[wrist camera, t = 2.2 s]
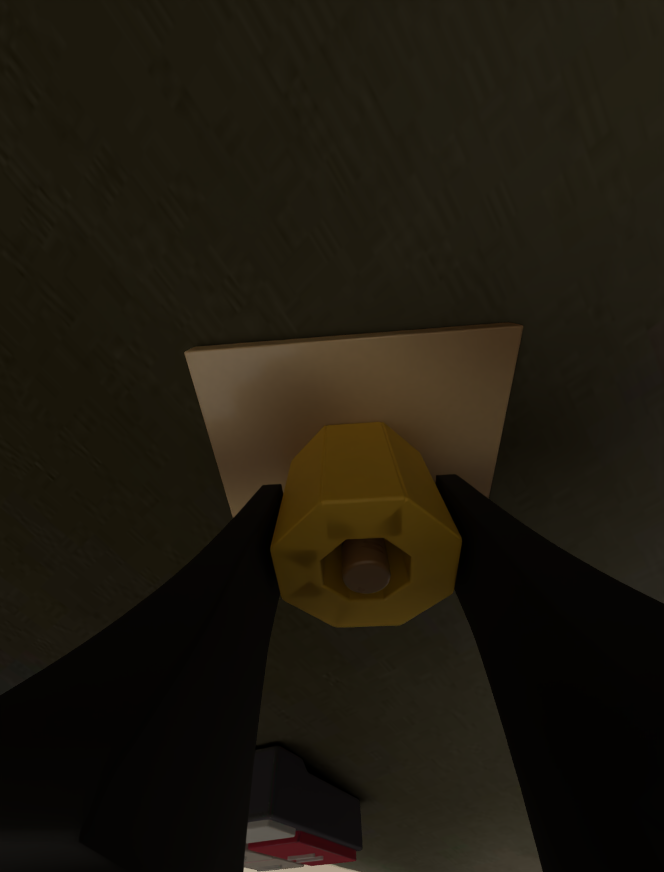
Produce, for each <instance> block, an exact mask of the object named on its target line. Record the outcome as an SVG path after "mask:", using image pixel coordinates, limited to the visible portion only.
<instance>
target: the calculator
mask: <svg viewBox="0 0 664 872" xmlns="http://www.w3.org/2000/svg"><path fill="white" fill-rule="evenodd" d="M361 850H362V830H361V813H360V801H359V799H357V798H355V797H353V796H351V795H349V794H348V793H346V792H344V791H342V790H340V789H338V788H336V787H334V786H332V785H331V784H329V783H327V782H325V781H323V780H321V779H319V778H317V777H316V776H314V775H312V774H310V773H308V772H307V770H306V767H305V764H304V762H303V759H302V758H300V757H299V756H297V755H295V754H293V753H291V752H290V751H288V750H286V749H284V748H283V747H281V746H271V747H266V748H261V749H257V750H255V757H254V766H253V775H252V784H251V794H250V805H249V815H248V826H247V836H246V847H245V858H244V867H246V868H250V869H255V870H257V871H269V870H279V869H288V868H296V867H303V866H304V864H306V865H310V866H315V865H324V864H334V863H343V862H352V861H356V851H361Z"/></svg>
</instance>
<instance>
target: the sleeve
mask: <svg viewBox="0 0 664 872" xmlns="http://www.w3.org/2000/svg"><path fill="white" fill-rule="evenodd" d="M368 538H384V541H385V546H386V551H387V557H388V562H389V567H390V573H391V577H390V581H389V583H388V585H387V586H386V587H385V588H383V589H382V590H380V591H378V592H375V593H369V594H362V593H357V592H354V591H352V590H350V589H349V588H348V587H347V586H346V585H345V584H344V582H343V579H342V549H341V543H342V542H344V541H345V540H347V539H368ZM461 546H462V538H461V536H460V534H459V532H458V530H457V527H456V525H455V523H454V521H453V519H452V517H451V515H450V513H449V511H448V509H447V507H446V505H445V503H444V501H443V499H442V497H441V495H440V493H439V491H438V489H437V487H436V484H435V482H434V480H433V478H432V476H431V474H430V472H429V470H428V468H427V466H426V464H425V462H424V460H423V458H422V456H421V454H420V452H418V451H417V450H416V449H415V448H414V447H412V446H411V445H410V444H409V443H408V442H407V441H405V440H404V439H403V438H402V437H401V436H399V435H398V434H397V433H396V432H395V431H393V430H392V429H391V428H390V427H389V426H387V425H386V424H385V423H384V422H370V423H354V424H339V425H327V426H324V427H323V428H322V429H321V430H320V431H319V432H318V433H317V434H316V435H315V436H314V437H313V438H312V439H311V440H310V442H309V443H308V444H307V445H306V446H305V447H304V448H303V449H302V450H301V451H300V452H299V453H298V454H297V455H296V456H295V457H294V459H293V460H292V461H291V465H290V469H289V473H288V477H287V481H286V485H285V489H284V493H283V497H282V501H281V505H280V510H279V514H278V518H277V522H276V526H275V530H274V534H273V538H272V542H271V546H270V552H271V556H272V561H273V565H274V569H275V573H276V577H277V582H278V586H279V590H280V594H281V598H283V600H284V601H286V602H288V603H290V604H292V605H294V606H295V607H297V608H299V609H301V610H303V611H305V612H307V613H309V614H311V615H313V616H314V617H316V618H318V619H320V620H322V621H324V622H326V623H328V624H330V625H331V626H335V627H364V626H393V625H401V624H404V623H405V622H407V621H409V620H410V619H412V618H414V617H415V616H417V615H418V614H420V613H422V612H423V611H425V610H427V609H428V608H430V607H431V606H433V605H435V604H436V603H438V602H440V601H441V600H443V599H444V598H446V597H448V596H449V595H451V594H452V593H453V591H454V588H455V582H456V576H457V570H458V564H459V558H460V552H461Z"/></svg>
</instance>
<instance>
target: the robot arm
mask: <svg viewBox="0 0 664 872" xmlns="http://www.w3.org/2000/svg"><path fill="white" fill-rule="evenodd" d="M435 484H436V487H437V489H438V491H439V493H440V495H441V497H442V499H443V501H444V503H445V505H446V507H447V509H448V511H449V513H450V515H451V517H452V519H453V521H454V523H455V525H456V527H457V530H458V532H459V534H460V536H461V538H462V546H461V552H460V558H459V564H458V570H457V576H456V582H455V588H454V589H455V592H456V594H457V596H458V599H459V601H460V603H461V606H462V608H463V610H464V613H465V615H466V617H467V620H468V622H469V624H470V627H471V630H472V632H473V635H474V638H475V640H476V643H477V646H478V649H479V652H480V655H481V658H482V661H483V664H484V667H485V670H486V674H487V677H488V680H489V683H490V686H491V689H492V693H493V696H494V699H495V702H496V706H497V709H498V712H499V715H500V719H501V722H502V725H503V728H504V732H505V735H506V739H507V742H508V746H509V749H510V753H511V756H512V760H513V763H514V767H515V770H516V774H517V777H518V781H519V784H520V787H521V791H522V795H523V799H524V802H525V806H526V810H527V813H528V817H529V821H530V825H531V828H532V832H533V836H534V839H535V843H536V847H537V851H538V854H539V858H540V862H541V866H542V870H543V872H664V604H663V603H661V602H659V601H657V600H655V599H653V598H651V597H649V596H647V595H645V594H643V593H641V592H639V591H637V590H635V589H633V588H631V587H629V586H627V585H625V584H623V583H622V582H620V581H618V580H616V579H614V578H612V577H610V576H608V575H606V574H605V573H603V572H601V571H599V570H597V569H596V568H594V567H592V566H590V565H589V564H587V563H585V562H583V561H582V560H580V559H578V558H577V557H575V556H573V555H571V554H570V553H568V552H566V551H564V550H563V549H561V548H560V547H558V546H556V545H555V544H553V543H552V542H550V541H548V540H547V539H545V538H544V537H542V536H541V535H539V534H538V533H536V532H535V531H533V530H532V529H530V528H529V527H527V526H526V525H524V524H523V523H521V522H520V521H518V520H517V519H516V518H514V517H513V516H511V515H510V514H509V513H507V512H506V511H504V510H503V509H502V508H500V507H499V506H498V505H496V504H495V503H494V502H492V501H491V500H490V499H488V498H487V497H486V496H484V495H483V494H482V493H480V492H479V491H478V490H476V489H475V488H474V487H473V486H471V485H470V484H469V483H467V482H466V481H465V480H463V479H462V478H461V477H459V476H458V475H456V474H447V475H436V482H435ZM282 497H283V490H282V485H281V484H269V485H262V486H261V487H260V489H259V490H258V491H257V492H256V493H255V494H254V495H253V496H252V497H251V499H250V500H249V501H248V502H247V503H246V504H245V505H244V507H243V508H242V509H241V510H240V511H239V512H238V513H237V514H236V516H235V517H234V518H233V519H232V520H231V521H230V522H229V523H228V524H227V525H226V526H225V528H224V529H223V530H222V531H221V532H220V533H219V534H218V535H217V536H216V537H215V538H214V539H213V540H212V541H211V542H210V543H209V544H208V545H207V546H206V547H205V548H204V549H203V550H202V551H201V552H200V553H199V554H198V555H197V556H196V557H194V558H193V559H192V560H191V561H190V562H189V563H188V564H187V565H186V566H185V567H183V568H182V569H181V570H180V571H179V572H178V573H176V574H175V575H174V576H173V577H172V578H171V579H169V580H168V581H167V582H166V583H165V584H163V585H162V586H161V587H160V588H158V589H157V590H156V591H155V592H153V593H152V594H151V595H149V596H148V597H147V598H145V599H144V600H143V601H141V602H140V603H139V604H138V605H136V606H135V607H134V608H132V609H131V610H130V611H128V612H127V613H126V614H124V615H123V616H122V617H120V618H119V619H118V620H116V621H115V622H113V623H112V624H111V625H109V626H108V627H106V628H105V629H103V630H102V631H101V632H99V633H98V634H96V635H95V636H93V637H92V638H91V639H89V640H88V641H86V642H85V643H83V644H82V645H80V646H79V647H77V648H75V649H74V650H72V651H71V652H69V653H68V654H66V655H65V656H63V657H62V658H60V659H59V660H57V661H56V662H54V663H53V664H51V665H49V666H48V667H46V668H45V669H43V670H41V671H40V672H38V673H37V674H35V675H33V676H32V677H30V678H28V679H27V680H25V681H23V682H22V683H20V684H18V685H17V686H15V687H13V688H12V689H10V690H9V691H7V692H5V693H4V694H2V695H0V872H243V869H244V858H245V847H246V836H247V826H248V815H249V805H250V794H251V784H252V775H253V766H254V757H255V748H256V738H257V730H258V722H259V713H260V705H261V697H262V689H263V682H264V674H265V667H266V660H267V652H268V646H269V641H270V636H271V631H272V626H273V622H274V617H275V613H276V609H277V604H278V600H279V595H280V590H279V586H278V582H277V577H276V573H275V569H274V565H273V561H272V556H271V552H270V546H271V542H272V538H273V534H274V530H275V526H276V522H277V518H278V514H279V510H280V505H281V501H282Z"/></svg>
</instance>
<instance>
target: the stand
mask: <svg viewBox="0 0 664 872" xmlns="http://www.w3.org/2000/svg"><path fill="white" fill-rule="evenodd" d="M522 331H523V325H519V324H515V323H511V322H504V323H492V324H479V325H466V326H453V327H440V328H428V329H415V330H402V331H389V332H376V333H364V334H351V335H338V336H325V337H312V338H300V339H287V340H274V341H261V342H248V343H236V344H223V345H210V346H197V347H193V348H191V349H189V350H187V351H185V357H186V360H187V364H188V367H189V370H190V374H191V377H192V380H193V384H194V387H195V391H196V394H197V397H198V401H199V404H200V407H201V411H202V414H203V418H204V421H205V424H206V428H207V431H208V434H209V438H210V441H211V445H212V448H213V451H214V455H215V458H216V461H217V465H218V468H219V472H220V475H221V478H222V482H223V485H224V488H225V492H226V495H227V499H228V502H229V505H230V509H231V512H232V516H233V518H234V517H235V516H236V514H237V513H238V512H239V511H240V510H241V509H242V508H243V507H244V505H245V504H246V503H247V502H248V501H249V500H250V499H251V497H252V496H253V495H254V494H255V493H256V492H257V491H258V490H259V489H260V487H261V486H262V485H269V484H281V485H282V490H283V493H284V489H285V485H286V481H287V477H288V473H289V469H290V465H291V461H292V460H293V459H294V457H295V456H296V455H297V454H298V453H299V452H300V451H301V450H302V449H303V448H304V447H305V446H306V445H307V444H308V443H309V442H310V440H311V439H312V438H313V437H314V436H315V435H316V434H317V433H318V432H319V431H320V430H321V429H322V428H323V427H324V426H327V425H339V424H354V423H370V422H384V423H385V424H386V425H387V426H389V427H390V428H391V429H392V430H393V431H395V432H396V433H397V434H398V435H399V436H401V437H402V438H403V439H404V440H405V441H407V442H408V443H409V444H410V445H411V446H412V447H414V448H415V449H416V450H417V451H418V452H420V454H421V456H422V458H423V460H424V462H425V464H426V466H427V468H428V470H429V472H430V474H431V476H432V478H433V480H434V482H436V475H447V474H456V475H458V476H459V477H461V478H462V479H463V480H465V481H466V482H467V483H469V484H470V485H471V486H473V487H474V488H475V489H476V490H478V491H479V492H480V493H482V494H483V495H484V496H486V497H487V498H488V499H489V494H490V490H491V485H492V480H493V475H494V470H495V465H496V460H497V455H498V450H499V445H500V440H501V435H502V430H503V425H504V420H505V415H506V410H507V405H508V400H509V396H510V391H511V386H512V381H513V376H514V371H515V366H516V361H517V356H518V351H519V346H520V341H521V336H522ZM341 549H342V579H343V582H344V584H345V585H346V586H347V587H348V588H349V589H350V590H352V591H354V592H357V593H362V594H369V593H375V592H378V591H380V590H382V589H383V588H385V587H386V586H387V585H388V583H389V581H390V577H391V573H390V567H389V562H388V557H387V551H386V546H385V541H384V538H368V539H347V540H345V541H344V542H342V543H341Z"/></svg>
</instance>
